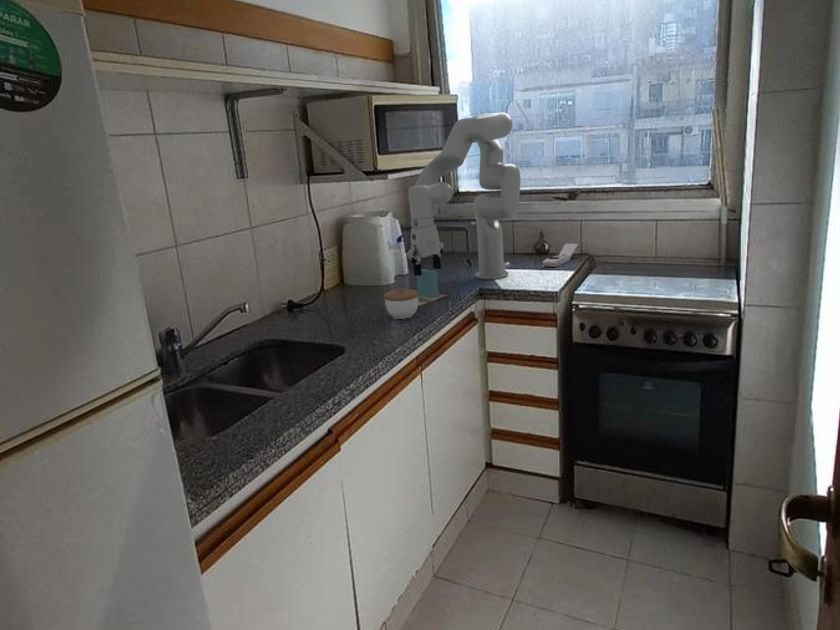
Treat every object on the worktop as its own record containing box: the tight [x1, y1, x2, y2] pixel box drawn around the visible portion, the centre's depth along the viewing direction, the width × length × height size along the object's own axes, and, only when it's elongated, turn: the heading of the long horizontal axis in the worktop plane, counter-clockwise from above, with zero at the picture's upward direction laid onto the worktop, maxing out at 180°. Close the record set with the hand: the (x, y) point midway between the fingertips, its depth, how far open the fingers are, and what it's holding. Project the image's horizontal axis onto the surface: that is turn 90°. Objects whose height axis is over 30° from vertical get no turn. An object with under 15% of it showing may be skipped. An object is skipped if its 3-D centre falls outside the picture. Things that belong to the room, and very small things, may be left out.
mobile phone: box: [540, 243, 579, 269], centre depth 251 cm, size 6×6×25 cm
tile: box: [416, 268, 440, 298], centre depth 212 cm, size 3×7×9 cm, turn 46°
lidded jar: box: [383, 287, 419, 320], centre depth 191 cm, size 11×11×9 cm
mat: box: [418, 293, 448, 307], centre depth 210 cm, size 16×11×1 cm
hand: (427, 271), depth 211 cm, fingers open, 9 cm apart
